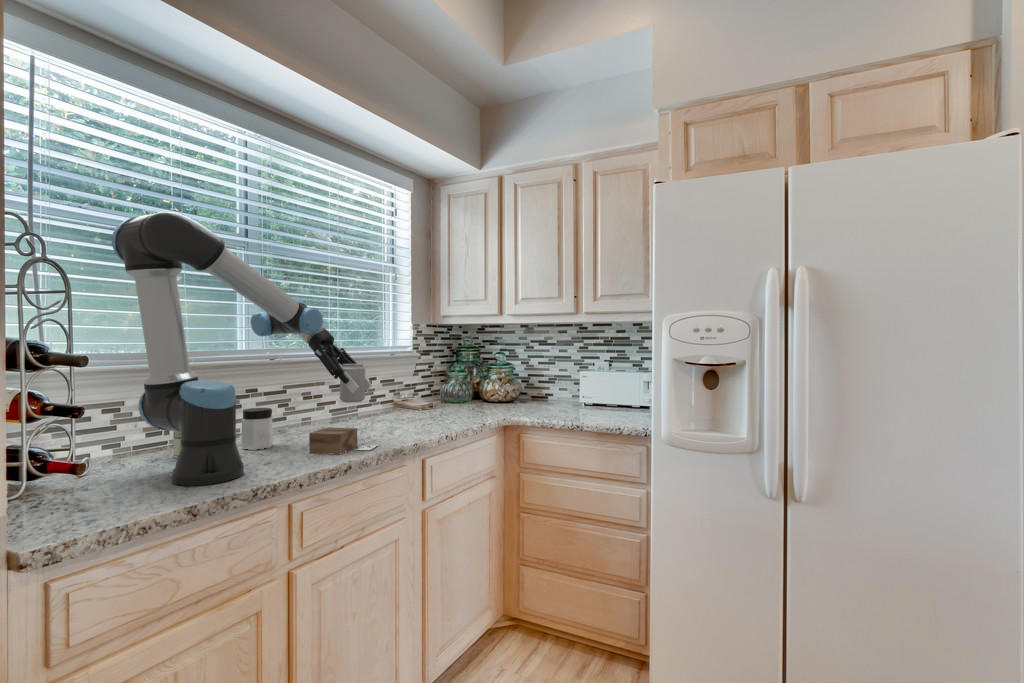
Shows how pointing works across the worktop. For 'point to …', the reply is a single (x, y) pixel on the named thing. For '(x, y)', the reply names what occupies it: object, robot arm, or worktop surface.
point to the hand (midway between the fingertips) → (362, 388)
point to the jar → (257, 428)
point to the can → (359, 378)
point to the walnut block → (332, 440)
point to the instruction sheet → (370, 446)
